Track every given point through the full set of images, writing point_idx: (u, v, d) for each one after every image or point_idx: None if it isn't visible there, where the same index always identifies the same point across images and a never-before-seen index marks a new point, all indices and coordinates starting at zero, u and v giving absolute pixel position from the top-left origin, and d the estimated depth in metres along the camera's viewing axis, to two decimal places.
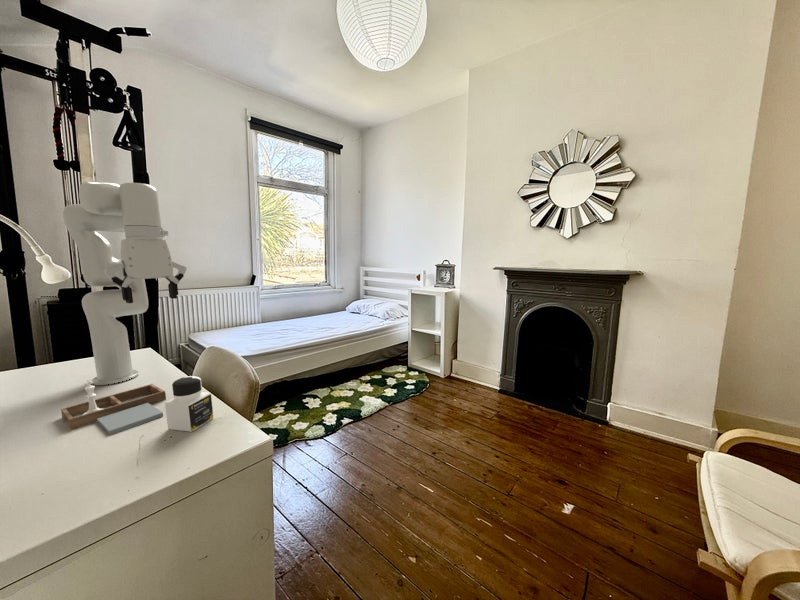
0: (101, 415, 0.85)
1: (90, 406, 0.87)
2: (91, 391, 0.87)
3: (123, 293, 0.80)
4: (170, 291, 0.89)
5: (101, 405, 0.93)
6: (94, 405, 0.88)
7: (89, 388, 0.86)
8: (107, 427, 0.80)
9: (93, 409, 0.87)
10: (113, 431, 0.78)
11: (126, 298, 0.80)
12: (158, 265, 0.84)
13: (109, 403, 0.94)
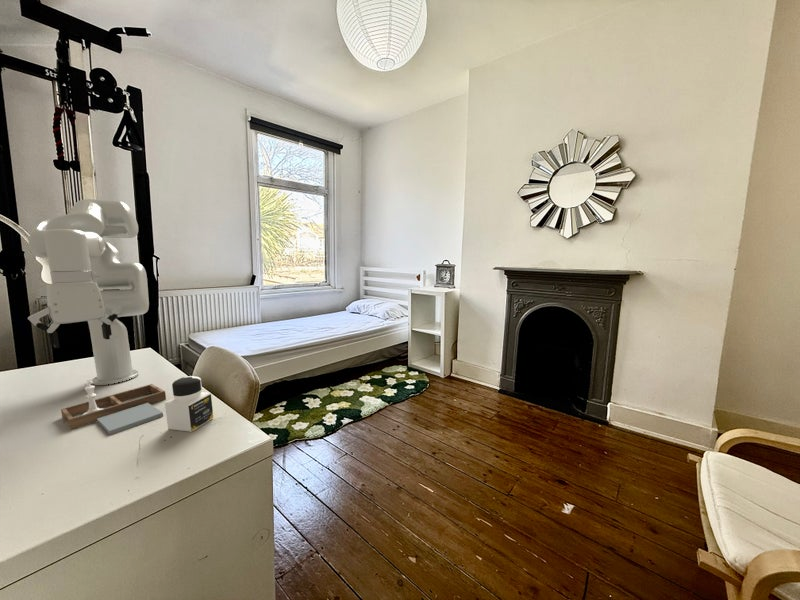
0: (101, 415, 0.85)
1: (90, 406, 0.87)
2: (91, 391, 0.87)
3: (49, 338, 0.80)
4: (103, 332, 0.89)
5: (101, 405, 0.93)
6: (94, 405, 0.88)
7: (89, 388, 0.86)
8: (107, 427, 0.80)
9: (93, 409, 0.87)
10: (113, 431, 0.78)
11: (52, 343, 0.80)
12: (87, 308, 0.84)
13: (109, 403, 0.94)
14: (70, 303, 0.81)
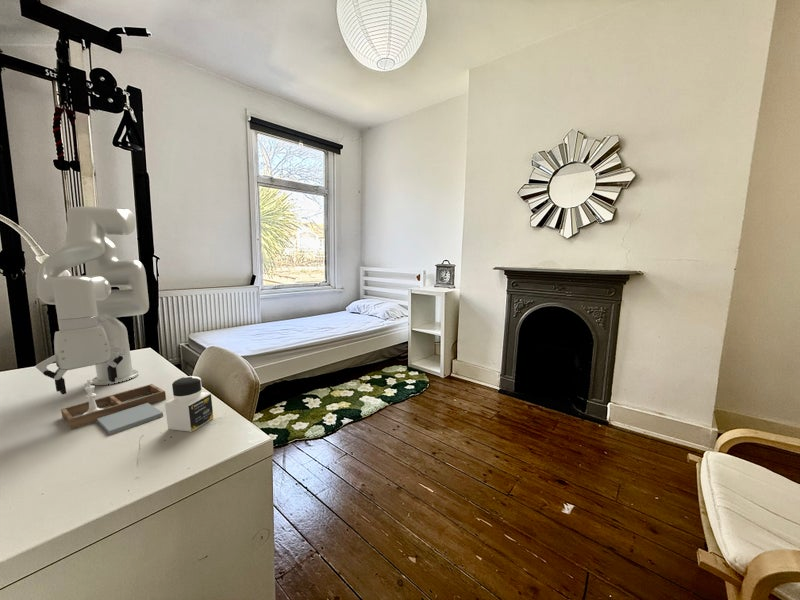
0: (101, 415, 0.85)
1: (90, 406, 0.87)
2: (91, 391, 0.87)
3: (56, 385, 0.81)
4: (109, 374, 0.90)
5: (101, 405, 0.93)
6: (94, 405, 0.88)
7: (89, 388, 0.86)
8: (107, 427, 0.80)
9: (93, 409, 0.87)
10: (113, 431, 0.78)
11: (59, 389, 0.81)
12: (93, 353, 0.85)
13: (109, 403, 0.94)
14: (77, 349, 0.83)
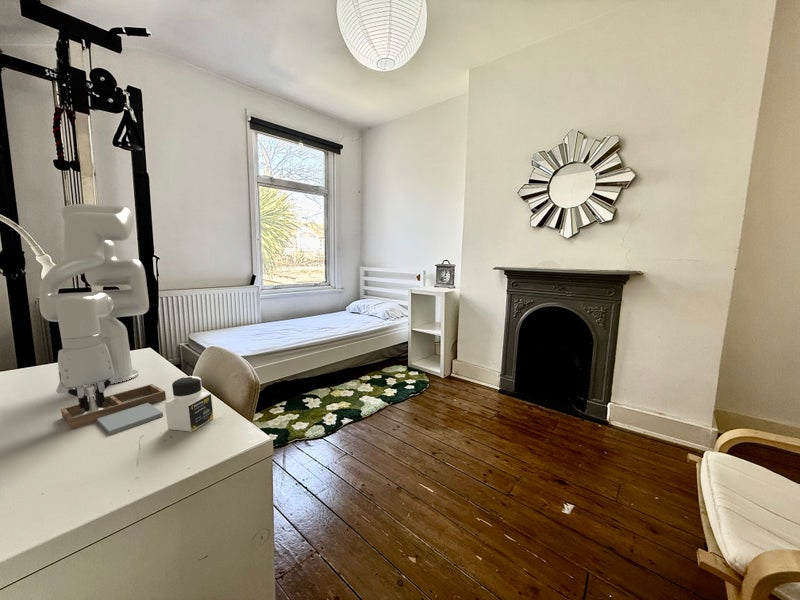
0: (101, 415, 0.85)
1: (90, 406, 0.87)
2: (91, 391, 0.87)
3: (79, 402, 0.86)
4: (96, 399, 0.89)
5: None
6: (94, 405, 0.88)
7: (89, 388, 0.87)
8: (107, 427, 0.80)
9: (93, 409, 0.87)
10: (113, 431, 0.78)
11: (82, 407, 0.86)
12: (97, 371, 0.86)
13: (109, 403, 0.94)
14: (80, 368, 0.84)
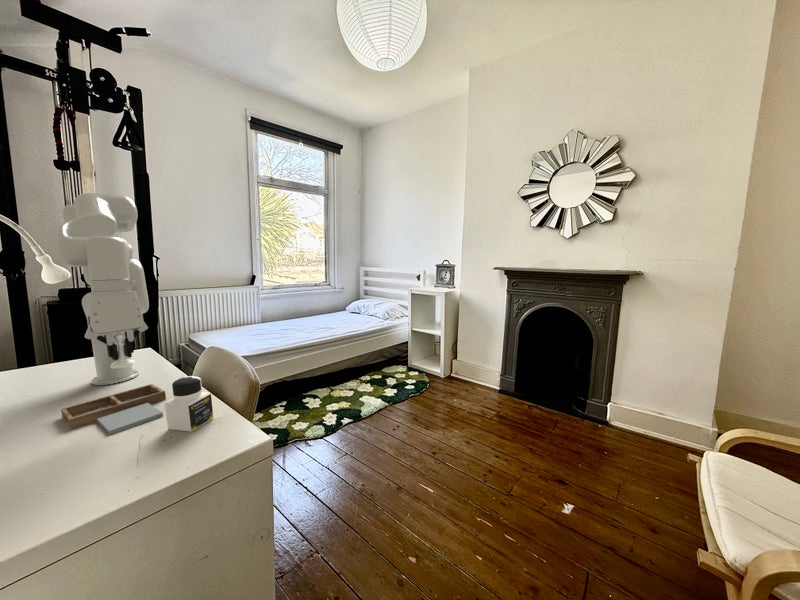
0: (101, 415, 0.85)
1: (119, 355, 0.83)
2: (120, 339, 0.82)
3: (108, 350, 0.81)
4: (125, 349, 0.84)
5: (101, 405, 0.93)
6: (123, 354, 0.83)
7: (118, 336, 0.82)
8: (107, 427, 0.80)
9: (122, 358, 0.83)
10: (113, 431, 0.78)
11: (111, 355, 0.81)
12: (126, 318, 0.82)
13: (109, 403, 0.94)
14: (110, 313, 0.79)
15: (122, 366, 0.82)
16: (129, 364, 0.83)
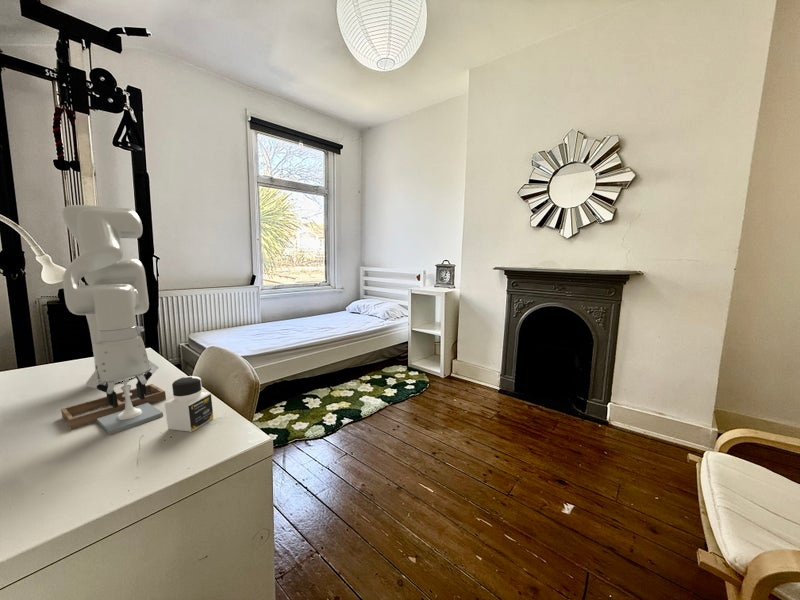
0: (101, 415, 0.85)
1: (126, 406, 0.84)
2: (127, 390, 0.84)
3: (108, 398, 0.81)
4: (138, 391, 0.87)
5: (101, 405, 0.93)
6: (130, 405, 0.85)
7: (125, 387, 0.84)
8: (107, 427, 0.80)
9: (129, 409, 0.85)
10: (113, 431, 0.78)
11: (111, 403, 0.82)
12: (133, 364, 0.83)
13: None
14: (117, 361, 0.81)
15: (129, 417, 0.84)
16: (136, 414, 0.85)
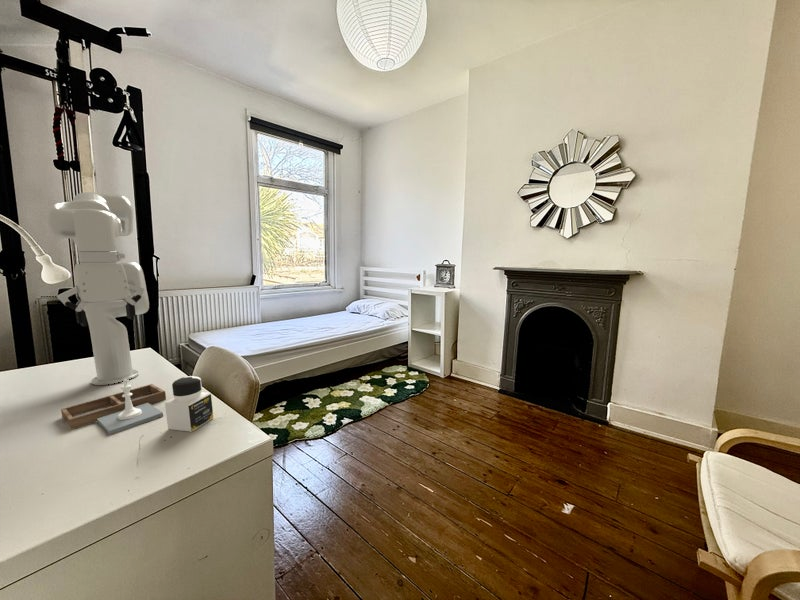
0: (101, 415, 0.85)
1: (126, 406, 0.84)
2: (128, 390, 0.84)
3: (77, 317, 0.82)
4: (127, 312, 0.91)
5: (101, 405, 0.93)
6: (130, 405, 0.85)
7: (126, 387, 0.84)
8: (107, 427, 0.80)
9: (129, 409, 0.85)
10: (113, 431, 0.78)
11: (80, 322, 0.82)
12: (113, 289, 0.86)
13: (109, 403, 0.94)
14: (97, 283, 0.83)
15: (129, 417, 0.84)
16: (136, 414, 0.85)
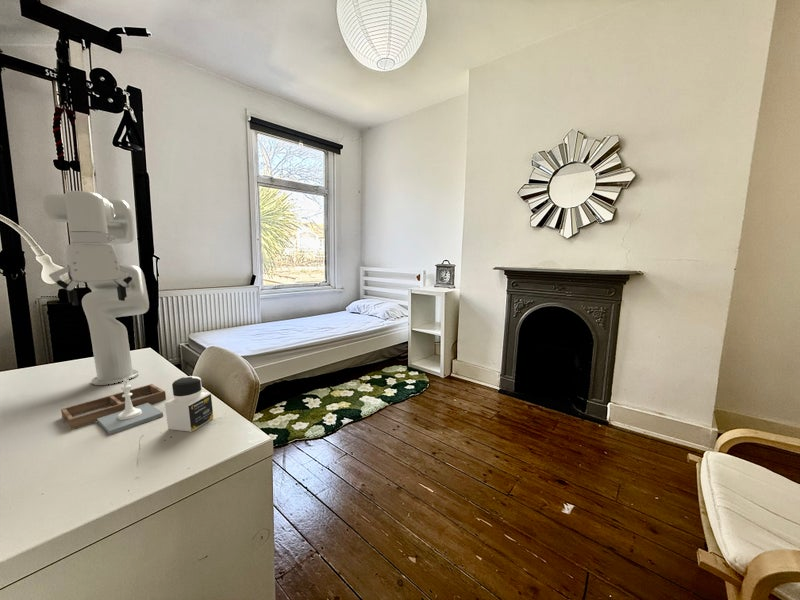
0: (101, 415, 0.85)
1: (126, 406, 0.85)
2: (127, 390, 0.84)
3: (68, 296, 0.84)
4: (118, 293, 0.93)
5: (101, 405, 0.93)
6: (130, 405, 0.85)
7: (126, 387, 0.84)
8: (107, 427, 0.80)
9: (129, 409, 0.85)
10: (113, 431, 0.78)
11: (71, 300, 0.84)
12: (104, 269, 0.88)
13: (109, 403, 0.94)
14: (88, 263, 0.85)
15: (129, 417, 0.84)
16: (136, 414, 0.85)
